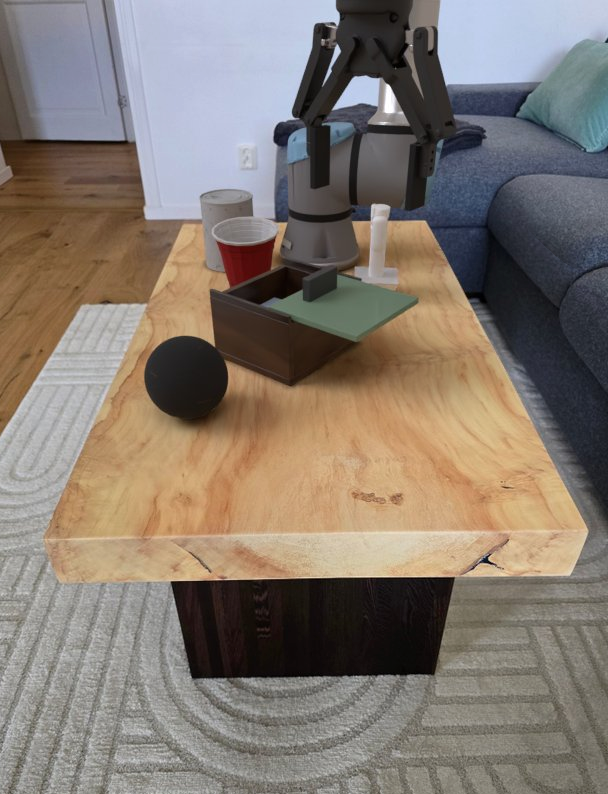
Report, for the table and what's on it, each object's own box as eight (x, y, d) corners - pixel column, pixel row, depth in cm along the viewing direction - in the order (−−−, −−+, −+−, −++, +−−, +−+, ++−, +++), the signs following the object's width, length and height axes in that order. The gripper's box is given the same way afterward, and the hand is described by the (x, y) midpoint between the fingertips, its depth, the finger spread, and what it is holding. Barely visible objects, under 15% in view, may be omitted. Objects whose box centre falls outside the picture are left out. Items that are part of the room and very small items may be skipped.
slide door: (334, 278, 90) (335, 252, 88) (418, 303, 83) (421, 275, 81) (268, 312, 82) (267, 283, 79) (356, 342, 75) (357, 312, 72)
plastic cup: (210, 310, 104) (203, 236, 97) (225, 284, 113) (219, 215, 105) (275, 313, 103) (273, 239, 96) (286, 287, 111) (284, 217, 104)
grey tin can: (233, 250, 126) (228, 186, 119) (266, 262, 121) (263, 195, 114) (195, 263, 121) (188, 196, 113) (229, 276, 116) (223, 207, 108)
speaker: (240, 395, 83) (234, 324, 77) (218, 439, 75) (210, 364, 69) (167, 388, 84) (156, 318, 78) (138, 430, 76) (123, 356, 70)
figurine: (395, 285, 112) (402, 197, 103) (396, 307, 104) (404, 214, 95) (354, 284, 112) (358, 196, 103) (352, 306, 105) (356, 213, 96)
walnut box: (287, 317, 101) (285, 256, 95) (358, 342, 94) (362, 278, 88) (215, 355, 91) (208, 289, 85) (290, 386, 84) (288, 317, 78)
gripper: (255, -35, 64) (264, 184, 77) (472, -41, 51) (440, 226, 64) (304, -35, 69) (305, 173, 81) (516, -40, 55) (478, 210, 68)
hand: (364, 197), depth 73 cm, fingers open, 13 cm apart
